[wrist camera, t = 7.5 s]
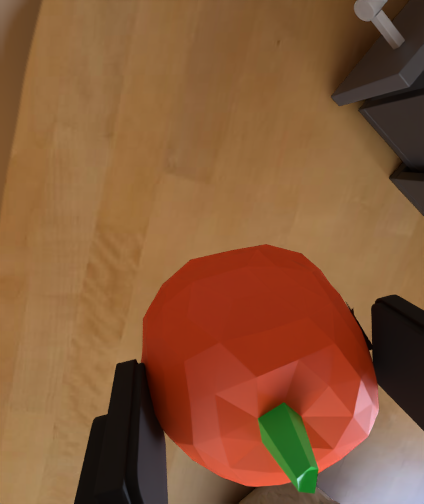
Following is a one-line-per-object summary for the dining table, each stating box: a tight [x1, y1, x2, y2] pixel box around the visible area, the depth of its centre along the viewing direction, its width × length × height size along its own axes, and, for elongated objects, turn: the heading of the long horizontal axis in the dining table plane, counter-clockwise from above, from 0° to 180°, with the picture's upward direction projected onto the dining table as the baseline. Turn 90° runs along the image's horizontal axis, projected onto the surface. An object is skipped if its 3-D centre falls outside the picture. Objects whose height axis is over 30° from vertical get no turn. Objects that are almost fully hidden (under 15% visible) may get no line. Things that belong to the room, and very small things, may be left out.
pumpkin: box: [141, 244, 379, 494], centre depth 10 cm, size 7×8×6 cm
